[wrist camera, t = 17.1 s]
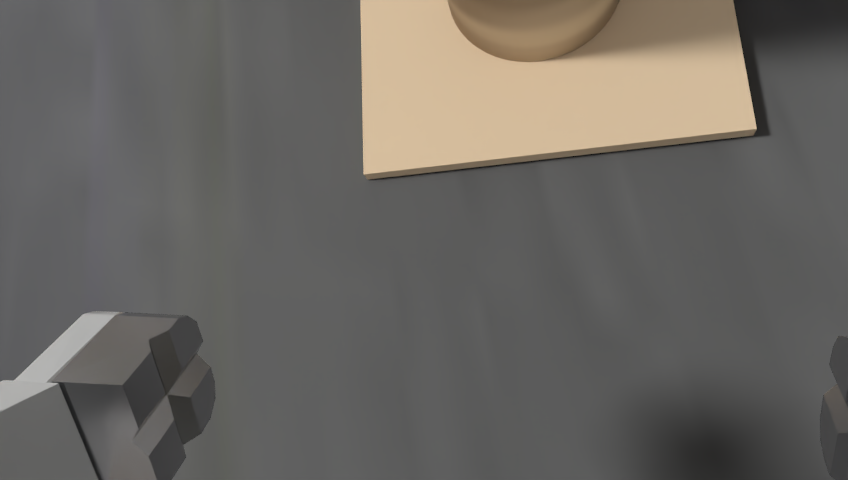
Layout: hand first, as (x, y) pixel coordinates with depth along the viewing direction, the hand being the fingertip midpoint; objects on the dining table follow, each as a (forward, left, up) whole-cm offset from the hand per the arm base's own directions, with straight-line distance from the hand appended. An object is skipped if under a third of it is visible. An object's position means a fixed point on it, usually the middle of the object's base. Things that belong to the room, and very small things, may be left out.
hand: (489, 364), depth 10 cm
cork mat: (+11, -1, -9) cm, 14 cm away
